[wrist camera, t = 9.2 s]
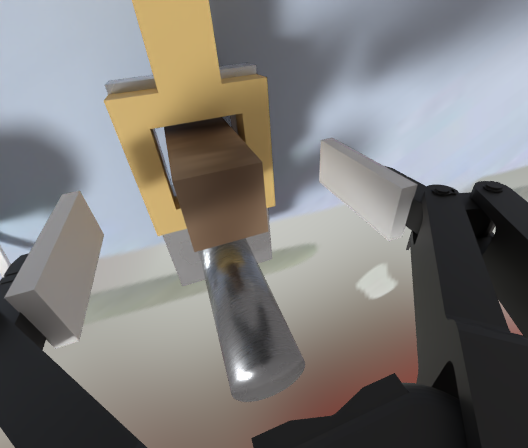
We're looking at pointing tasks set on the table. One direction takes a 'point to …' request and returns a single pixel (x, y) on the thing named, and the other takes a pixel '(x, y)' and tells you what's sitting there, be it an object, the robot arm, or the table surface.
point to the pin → (216, 182)
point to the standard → (236, 290)
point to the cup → (3, 262)
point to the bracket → (184, 101)
